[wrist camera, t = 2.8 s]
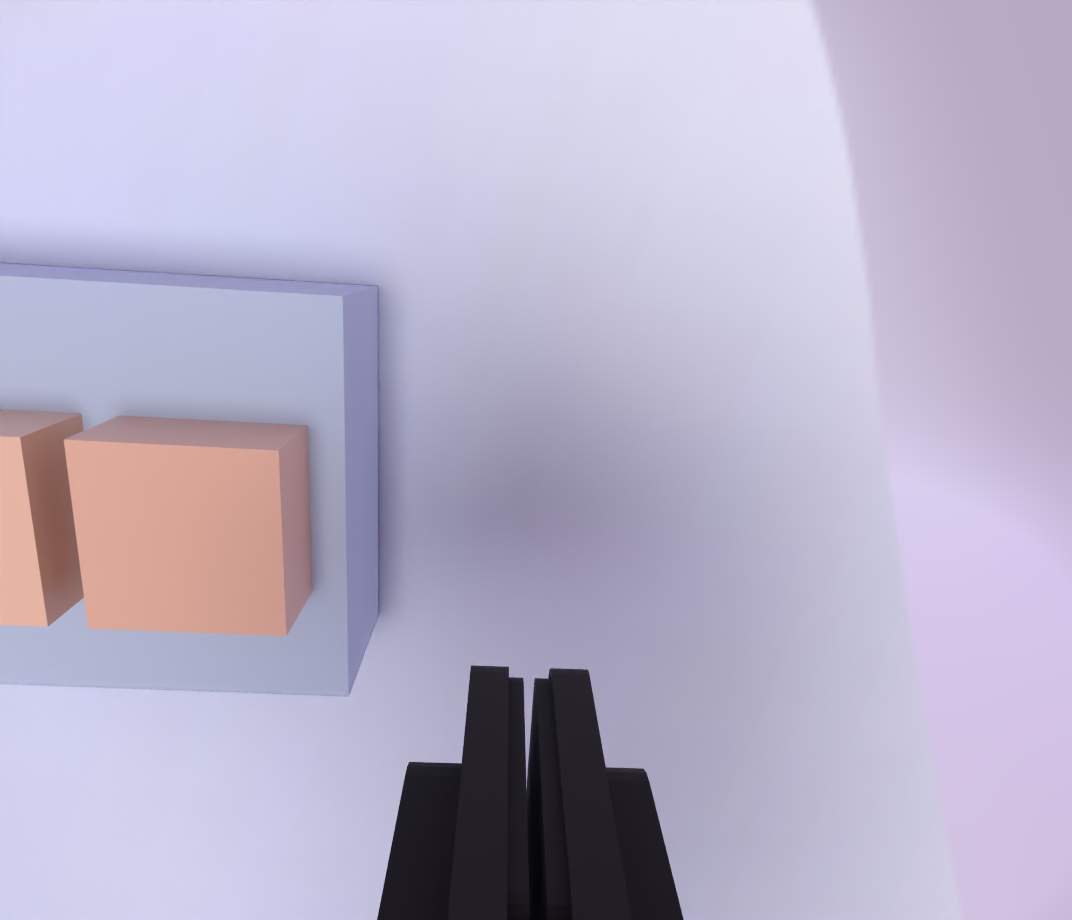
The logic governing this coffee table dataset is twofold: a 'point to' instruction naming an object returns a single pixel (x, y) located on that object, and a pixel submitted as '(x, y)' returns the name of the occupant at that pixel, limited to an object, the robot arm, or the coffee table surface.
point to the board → (221, 395)
